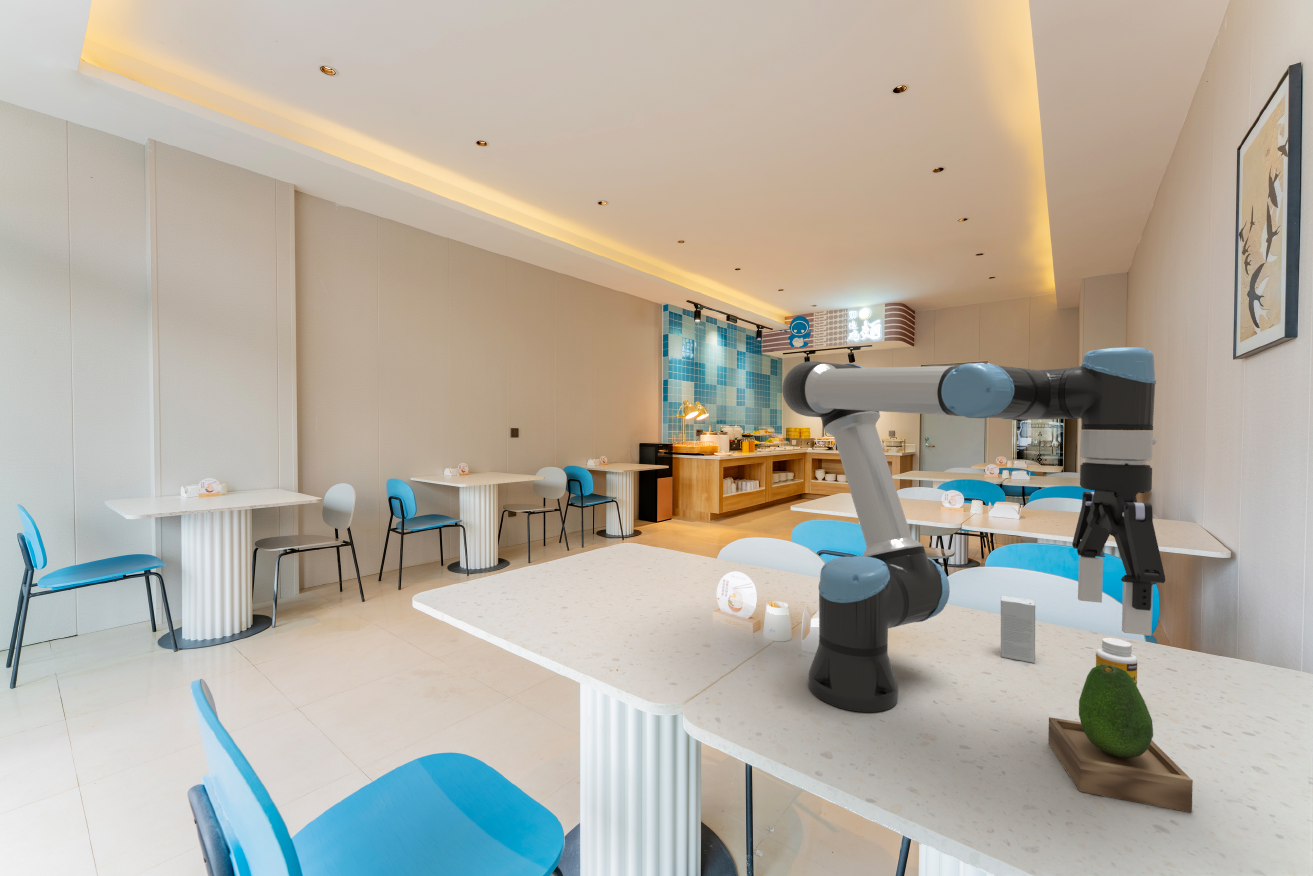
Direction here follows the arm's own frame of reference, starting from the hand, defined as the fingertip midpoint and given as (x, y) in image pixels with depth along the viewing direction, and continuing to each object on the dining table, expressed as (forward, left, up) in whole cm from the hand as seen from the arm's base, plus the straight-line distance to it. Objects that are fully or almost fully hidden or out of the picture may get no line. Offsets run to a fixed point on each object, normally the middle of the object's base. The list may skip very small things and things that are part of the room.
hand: (1111, 616), depth 74 cm
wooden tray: (0, -1, -22) cm, 22 cm away
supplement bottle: (+11, +25, -22) cm, 35 cm away
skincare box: (0, +40, -22) cm, 46 cm away
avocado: (0, -1, -19) cm, 19 cm away
